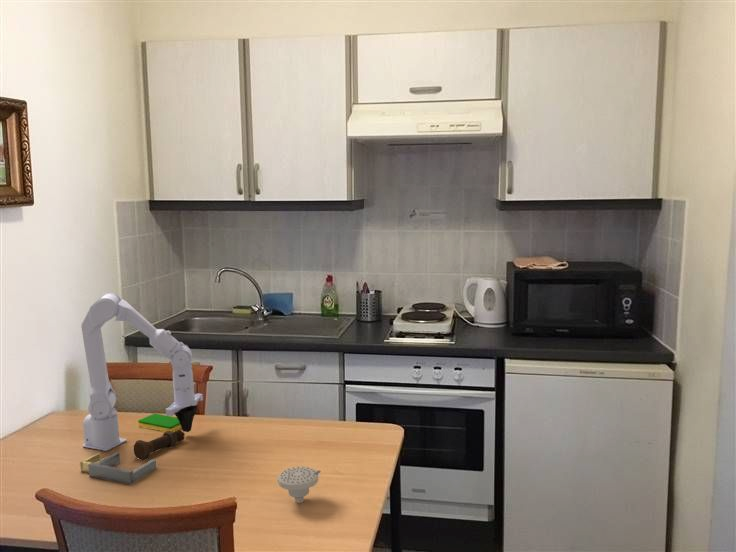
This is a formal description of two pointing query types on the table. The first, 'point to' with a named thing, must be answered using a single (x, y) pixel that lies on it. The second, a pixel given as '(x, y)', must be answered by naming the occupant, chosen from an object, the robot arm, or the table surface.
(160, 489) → the table surface
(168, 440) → the bolt
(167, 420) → the dish sponge
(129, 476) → the grey u-shaped bracket
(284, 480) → the showerhead
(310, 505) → the table surface
